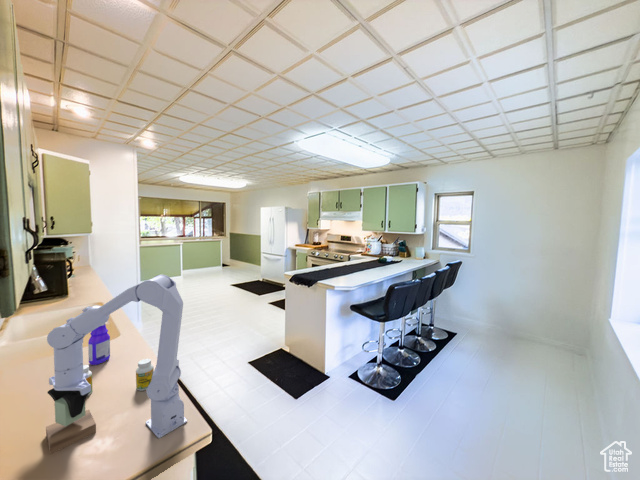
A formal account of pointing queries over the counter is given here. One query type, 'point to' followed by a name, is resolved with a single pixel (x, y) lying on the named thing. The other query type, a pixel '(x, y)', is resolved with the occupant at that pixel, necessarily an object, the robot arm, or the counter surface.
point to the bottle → (99, 345)
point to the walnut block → (69, 432)
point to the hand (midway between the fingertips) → (70, 412)
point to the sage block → (65, 413)
